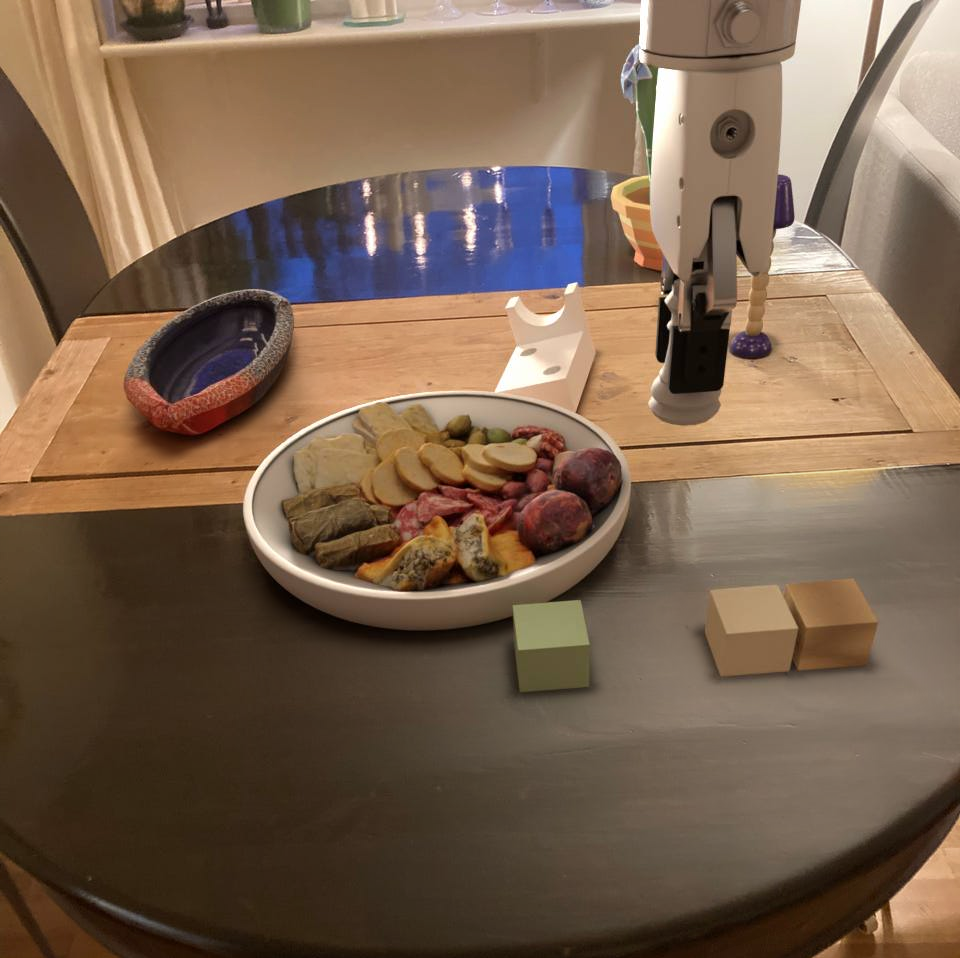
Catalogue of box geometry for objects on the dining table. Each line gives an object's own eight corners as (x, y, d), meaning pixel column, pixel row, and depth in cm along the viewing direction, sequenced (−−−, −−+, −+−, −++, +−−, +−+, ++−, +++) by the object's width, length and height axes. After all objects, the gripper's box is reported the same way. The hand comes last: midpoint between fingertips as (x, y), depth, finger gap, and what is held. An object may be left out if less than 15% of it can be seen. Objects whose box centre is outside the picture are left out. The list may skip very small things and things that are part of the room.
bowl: (201, 644, 68) (172, 555, 63) (313, 437, 91) (297, 358, 86) (623, 664, 64) (628, 570, 59) (631, 441, 86) (635, 359, 81)
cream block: (768, 635, 65) (778, 584, 63) (787, 680, 62) (798, 628, 59) (703, 641, 66) (709, 589, 63) (719, 686, 62) (726, 633, 59)
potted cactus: (631, 232, 128) (640, 12, 112) (745, 243, 123) (773, 13, 106) (590, 272, 118) (593, 37, 102) (712, 286, 113) (737, 39, 96)
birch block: (841, 630, 65) (854, 578, 63) (864, 674, 62) (879, 621, 59) (775, 635, 65) (785, 583, 63) (795, 680, 62) (806, 627, 59)
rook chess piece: (683, 435, 58) (694, 305, 52) (633, 409, 60) (639, 284, 55) (735, 412, 59) (751, 284, 54) (684, 388, 62) (694, 264, 57)
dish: (327, 323, 111) (320, 280, 108) (243, 458, 88) (230, 409, 85) (201, 323, 113) (190, 281, 110) (87, 455, 91) (69, 407, 87)
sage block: (580, 650, 66) (580, 599, 63) (589, 696, 62) (590, 644, 59) (514, 655, 66) (512, 605, 63) (520, 701, 62) (517, 650, 59)
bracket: (531, 366, 101) (510, 298, 97) (595, 353, 99) (577, 282, 94) (505, 425, 92) (480, 353, 88) (575, 412, 89) (554, 336, 85)
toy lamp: (725, 340, 101) (744, 171, 90) (770, 338, 101) (794, 169, 90) (732, 360, 98) (753, 186, 87) (779, 358, 97) (805, 183, 86)
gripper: (851, 46, 40) (786, 437, 52) (753, -9, 53) (718, 316, 65) (673, 60, 40) (649, 446, 52) (617, 2, 53) (608, 324, 65)
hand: (688, 371), depth 58 cm, fingers closed on rook chess piece, 3 cm apart
